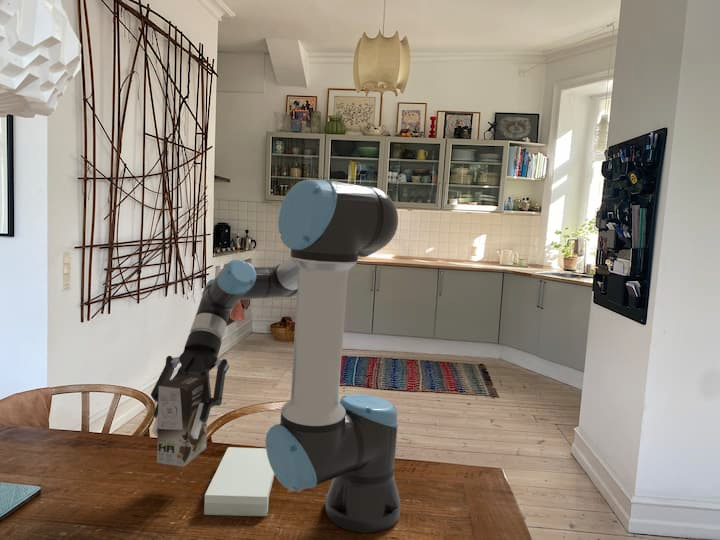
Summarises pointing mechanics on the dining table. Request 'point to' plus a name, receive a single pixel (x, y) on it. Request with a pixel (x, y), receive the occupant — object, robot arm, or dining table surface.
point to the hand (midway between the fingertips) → (174, 435)
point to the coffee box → (180, 419)
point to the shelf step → (240, 484)
